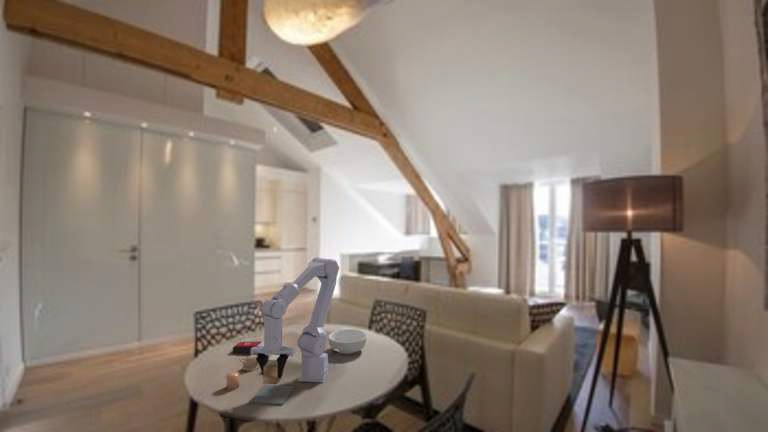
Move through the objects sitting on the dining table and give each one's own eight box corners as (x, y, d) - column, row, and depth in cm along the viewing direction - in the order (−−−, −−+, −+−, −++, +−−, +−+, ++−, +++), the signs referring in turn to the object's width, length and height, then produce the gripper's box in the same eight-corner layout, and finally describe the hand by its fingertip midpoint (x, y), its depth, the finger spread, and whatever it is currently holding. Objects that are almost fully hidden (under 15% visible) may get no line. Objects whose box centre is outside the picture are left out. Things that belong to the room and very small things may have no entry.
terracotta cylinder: (241, 384, 121) (241, 372, 121) (235, 390, 117) (235, 377, 117) (230, 384, 122) (230, 371, 122) (224, 389, 118) (224, 376, 118)
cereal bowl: (320, 352, 151) (320, 336, 151) (345, 341, 165) (345, 326, 165) (349, 362, 141) (350, 344, 141) (373, 349, 155) (374, 333, 155)
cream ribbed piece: (262, 368, 135) (262, 354, 135) (239, 373, 130) (239, 359, 130) (258, 364, 138) (259, 351, 138) (236, 370, 133) (237, 356, 133)
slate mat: (294, 388, 119) (294, 386, 119) (282, 405, 108) (282, 403, 108) (263, 386, 120) (263, 384, 120) (248, 403, 109) (248, 401, 109)
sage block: (283, 366, 137) (283, 355, 137) (279, 371, 132) (279, 359, 132) (272, 366, 137) (272, 355, 137) (268, 370, 133) (268, 359, 133)
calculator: (244, 337, 160) (275, 336, 159) (244, 346, 160) (275, 346, 159) (232, 346, 149) (265, 345, 148) (232, 356, 149) (266, 355, 148)
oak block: (281, 378, 116) (282, 361, 116) (276, 384, 112) (276, 367, 112) (268, 377, 117) (269, 361, 117) (263, 383, 112) (263, 366, 112)
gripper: (246, 338, 111) (245, 381, 111) (290, 340, 110) (289, 383, 110) (256, 331, 118) (255, 371, 118) (297, 333, 117) (297, 373, 117)
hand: (272, 376), depth 114 cm, fingers closed on oak block, 4 cm apart
